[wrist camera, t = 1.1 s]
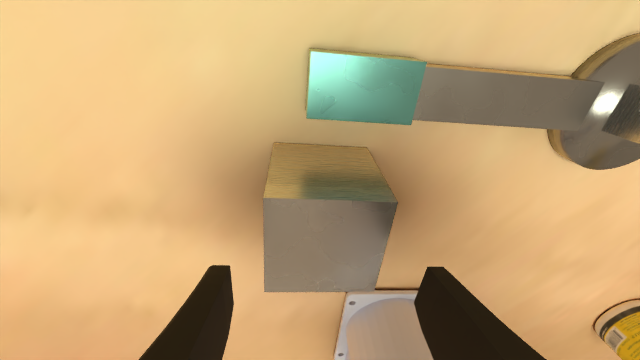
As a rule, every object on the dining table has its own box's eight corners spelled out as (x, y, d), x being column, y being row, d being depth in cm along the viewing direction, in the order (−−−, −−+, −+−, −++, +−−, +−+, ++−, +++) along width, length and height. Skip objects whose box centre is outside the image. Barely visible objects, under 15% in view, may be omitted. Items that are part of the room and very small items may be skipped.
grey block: (353, 221, 18) (373, 291, 13) (273, 219, 18) (264, 292, 13) (367, 147, 16) (398, 202, 11) (273, 142, 15) (263, 197, 10)
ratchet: (628, 163, 17) (715, 200, 14) (302, 145, 15) (305, 184, 12) (714, 39, 14) (859, 45, 10) (312, -6, 12) (319, -19, 8)
